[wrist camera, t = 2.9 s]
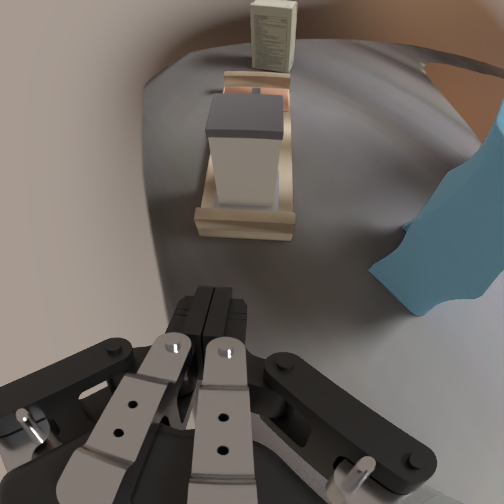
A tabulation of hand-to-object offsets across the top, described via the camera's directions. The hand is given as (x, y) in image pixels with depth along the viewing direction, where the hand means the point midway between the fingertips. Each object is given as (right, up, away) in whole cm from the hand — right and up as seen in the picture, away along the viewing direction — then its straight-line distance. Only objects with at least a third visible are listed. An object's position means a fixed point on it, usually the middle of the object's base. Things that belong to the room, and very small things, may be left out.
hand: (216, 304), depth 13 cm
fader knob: (+1, +8, +16) cm, 18 cm away
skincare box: (+5, +33, +29) cm, 44 cm away
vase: (+19, 0, +15) cm, 24 cm away
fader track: (+2, +15, +21) cm, 25 cm away
